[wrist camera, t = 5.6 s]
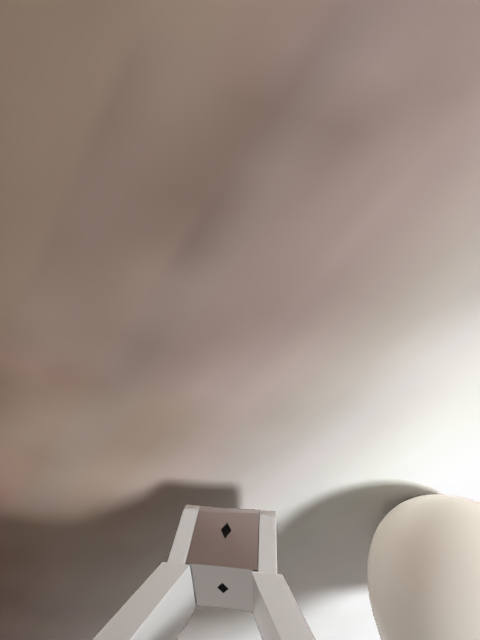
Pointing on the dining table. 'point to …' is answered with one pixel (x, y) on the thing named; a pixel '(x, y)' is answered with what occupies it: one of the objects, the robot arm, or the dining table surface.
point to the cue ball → (427, 570)
